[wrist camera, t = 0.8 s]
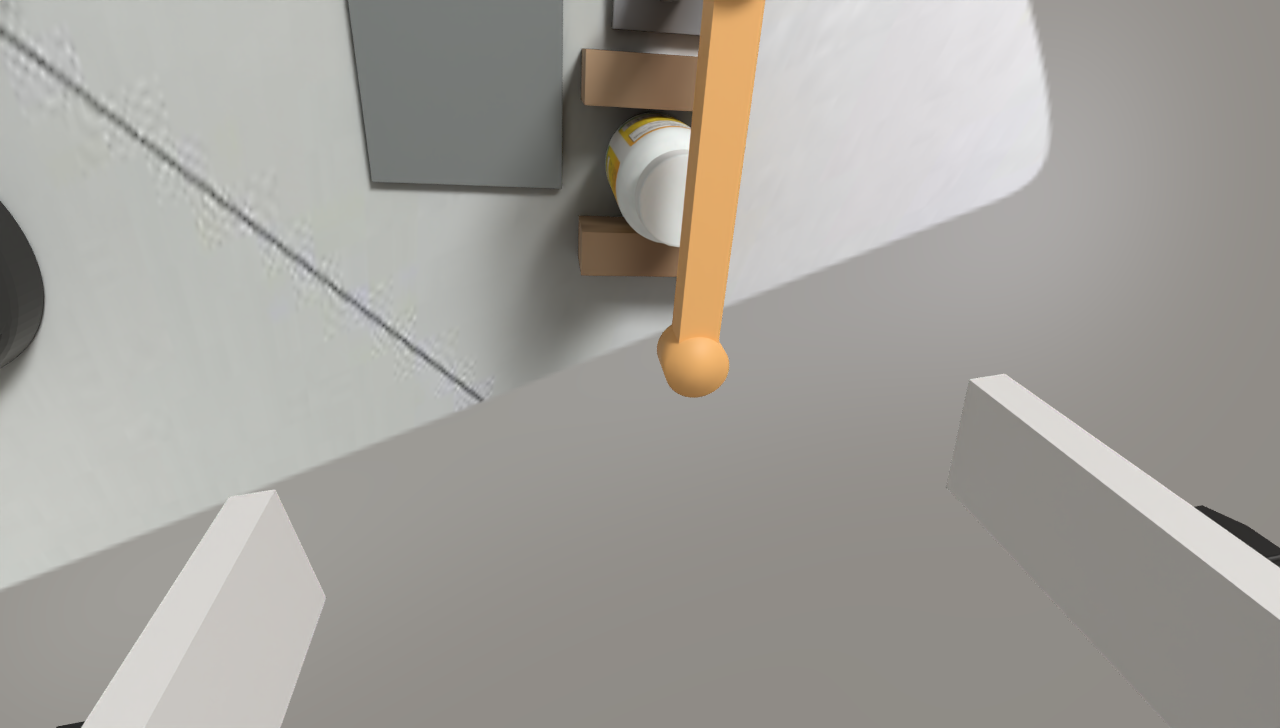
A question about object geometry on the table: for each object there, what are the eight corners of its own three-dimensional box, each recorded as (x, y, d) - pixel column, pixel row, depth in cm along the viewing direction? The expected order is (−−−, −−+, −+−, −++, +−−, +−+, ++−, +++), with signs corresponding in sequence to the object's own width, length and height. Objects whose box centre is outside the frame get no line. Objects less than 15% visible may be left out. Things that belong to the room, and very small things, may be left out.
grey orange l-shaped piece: (623, 282, 37) (665, 407, 24) (642, -60, 29) (718, -137, 16) (666, 283, 37) (729, 405, 25) (696, -54, 29) (810, -126, 17)
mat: (374, 179, 33) (371, 181, 32) (345, -42, 28) (341, -43, 28) (561, 186, 34) (561, 188, 34) (562, -22, 30) (562, -23, 29)
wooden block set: (578, 255, 36) (581, 275, 33) (584, -96, 29) (589, -112, 26) (708, 258, 38) (723, 277, 35) (748, -78, 30) (771, -92, 27)
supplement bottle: (639, 90, 33) (672, 107, 24) (716, 148, 35) (771, 183, 26) (585, 176, 34) (598, 220, 26) (661, 227, 36) (697, 283, 28)
